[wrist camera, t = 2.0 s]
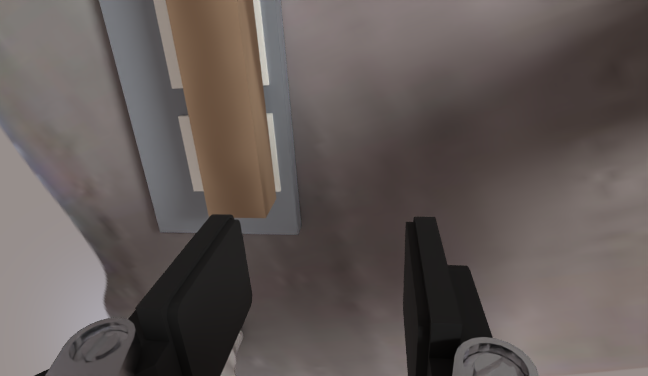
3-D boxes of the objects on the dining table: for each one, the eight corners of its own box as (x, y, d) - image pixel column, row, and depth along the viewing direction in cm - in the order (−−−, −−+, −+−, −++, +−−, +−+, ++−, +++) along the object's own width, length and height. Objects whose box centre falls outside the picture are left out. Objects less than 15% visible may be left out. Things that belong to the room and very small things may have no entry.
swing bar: (224, -239, 19) (199, -279, 17) (276, 198, 29) (265, 218, 26) (148, -227, 20) (112, -264, 17) (224, 198, 30) (209, 217, 27)
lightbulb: (236, 294, 37) (185, 398, 28) (275, 340, 39) (240, 452, 29) (189, 318, 40) (125, 422, 30) (228, 360, 41) (180, 471, 31)
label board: (272, -87, 24) (265, -93, 23) (301, 225, 33) (297, 236, 32) (95, -69, 26) (76, -74, 24) (168, 223, 35) (158, 234, 33)
